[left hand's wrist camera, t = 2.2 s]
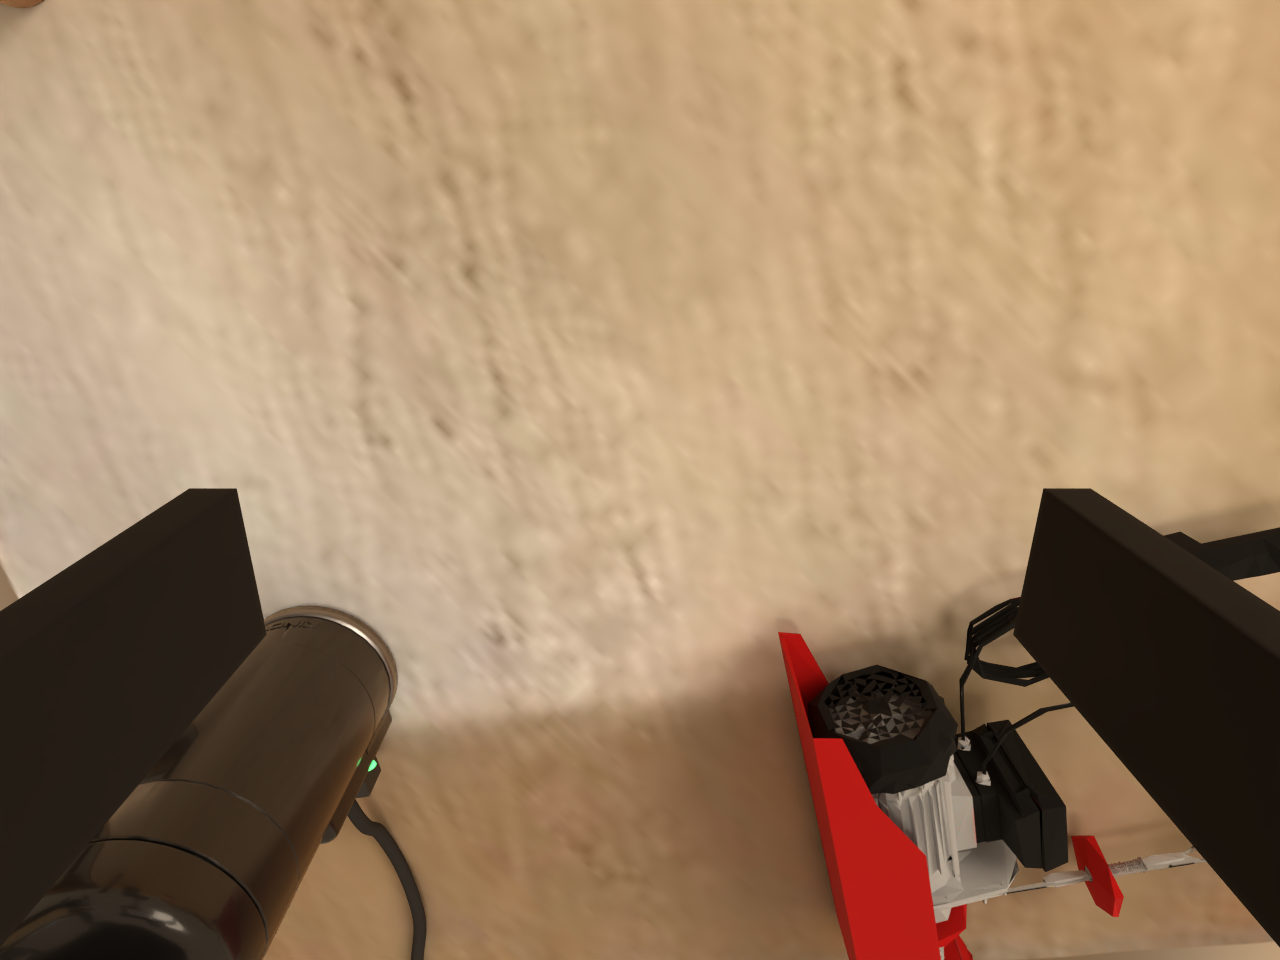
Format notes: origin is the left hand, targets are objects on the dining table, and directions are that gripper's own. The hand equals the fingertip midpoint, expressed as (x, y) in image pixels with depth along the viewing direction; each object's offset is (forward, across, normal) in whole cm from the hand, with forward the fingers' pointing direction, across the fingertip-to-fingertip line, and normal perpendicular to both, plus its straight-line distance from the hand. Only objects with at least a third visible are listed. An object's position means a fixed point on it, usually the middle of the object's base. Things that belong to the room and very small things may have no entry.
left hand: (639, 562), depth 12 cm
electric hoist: (+28, +26, -27) cm, 47 cm away
